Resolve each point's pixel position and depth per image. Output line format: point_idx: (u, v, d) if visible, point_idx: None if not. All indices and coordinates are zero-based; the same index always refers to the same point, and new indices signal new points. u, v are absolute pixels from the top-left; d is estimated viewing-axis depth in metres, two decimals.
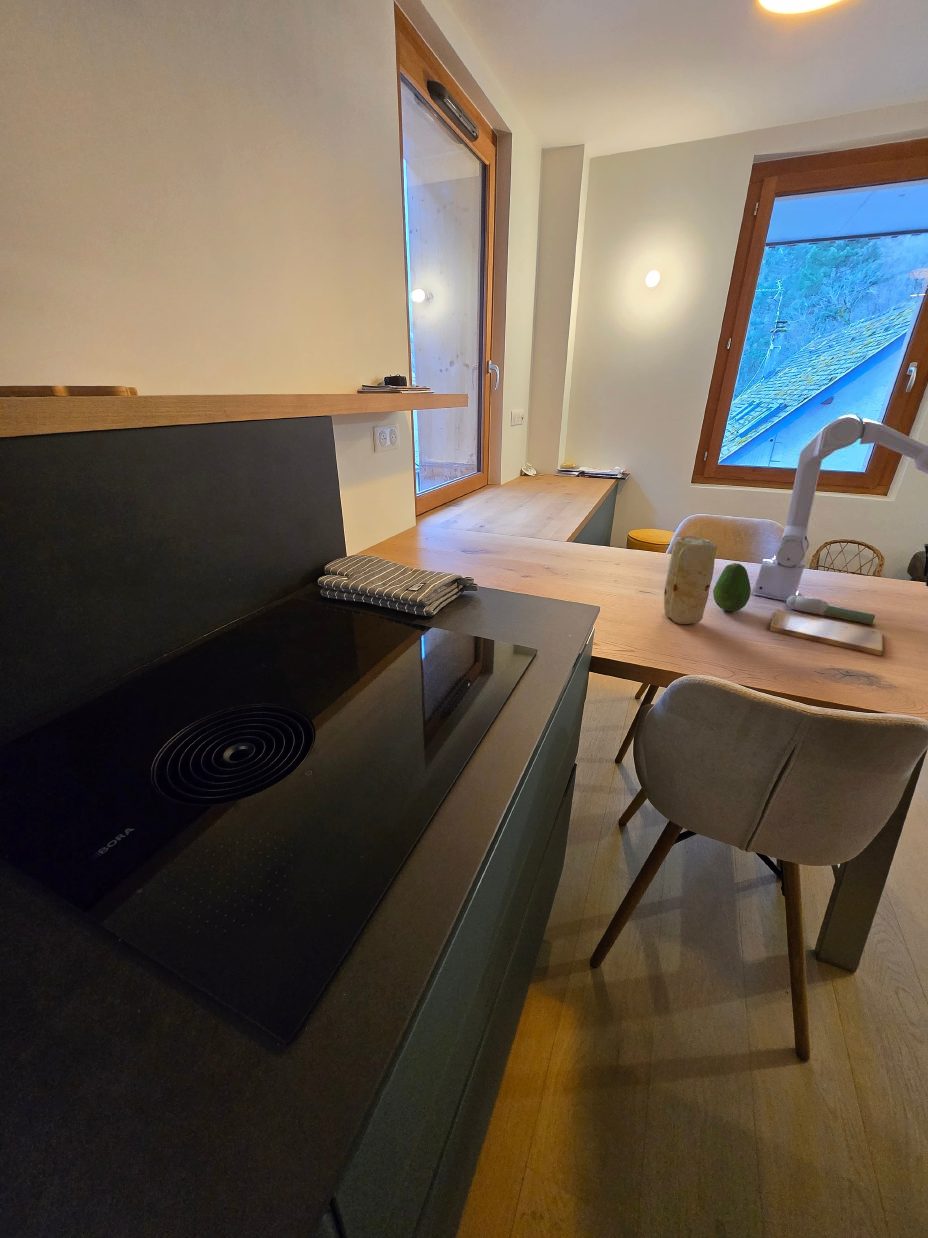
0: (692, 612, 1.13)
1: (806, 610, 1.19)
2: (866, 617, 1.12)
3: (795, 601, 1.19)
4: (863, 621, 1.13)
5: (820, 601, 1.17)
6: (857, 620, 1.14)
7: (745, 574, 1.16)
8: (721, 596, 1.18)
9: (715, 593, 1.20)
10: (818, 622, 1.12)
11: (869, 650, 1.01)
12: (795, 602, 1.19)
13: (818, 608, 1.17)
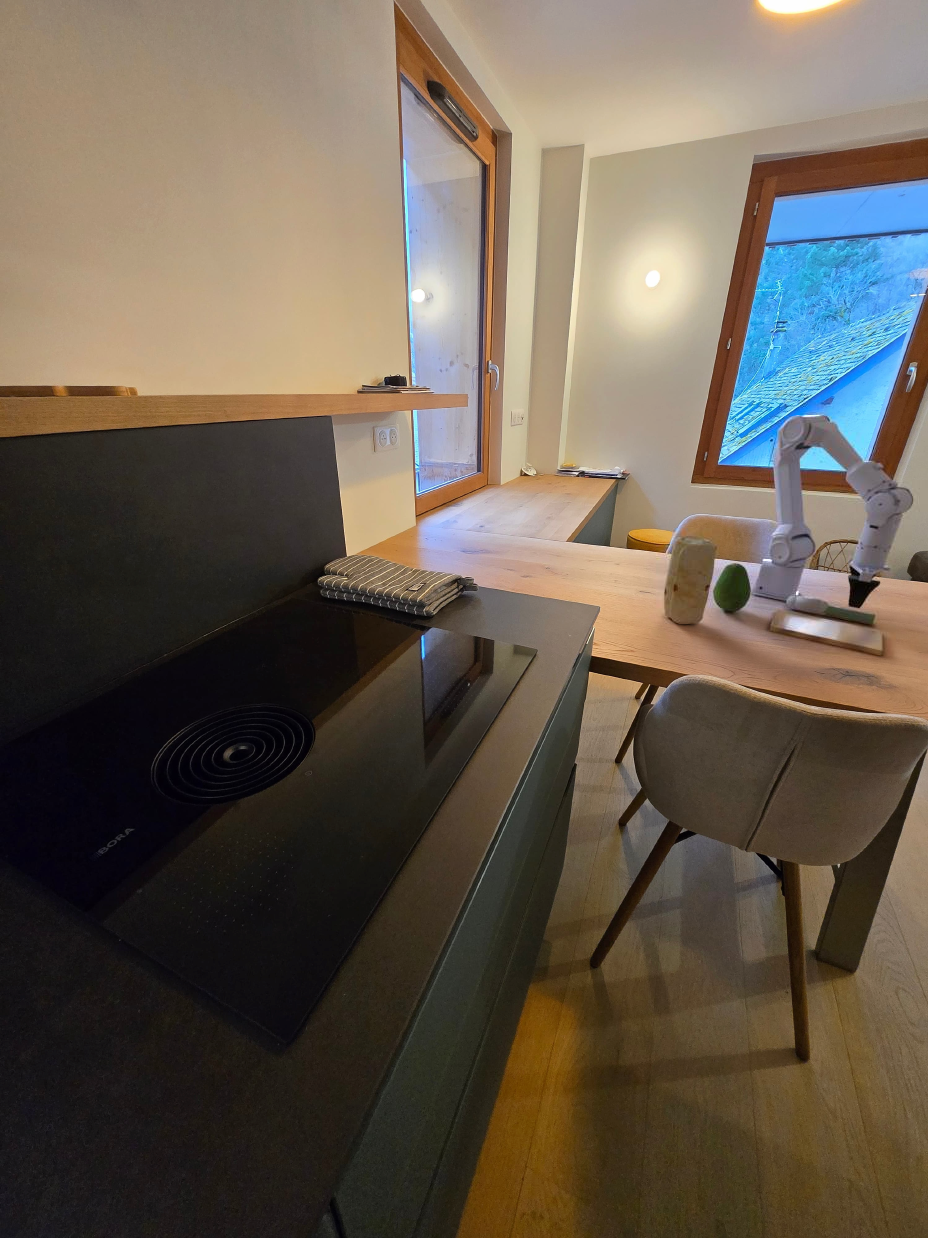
0: (692, 612, 1.13)
1: (806, 610, 1.19)
2: (866, 617, 1.12)
3: (795, 601, 1.19)
4: (863, 621, 1.13)
5: (820, 601, 1.17)
6: (857, 620, 1.14)
7: (745, 574, 1.16)
8: (721, 596, 1.18)
9: (715, 593, 1.20)
10: (818, 622, 1.12)
11: (869, 650, 1.01)
12: (795, 602, 1.19)
13: (818, 608, 1.17)
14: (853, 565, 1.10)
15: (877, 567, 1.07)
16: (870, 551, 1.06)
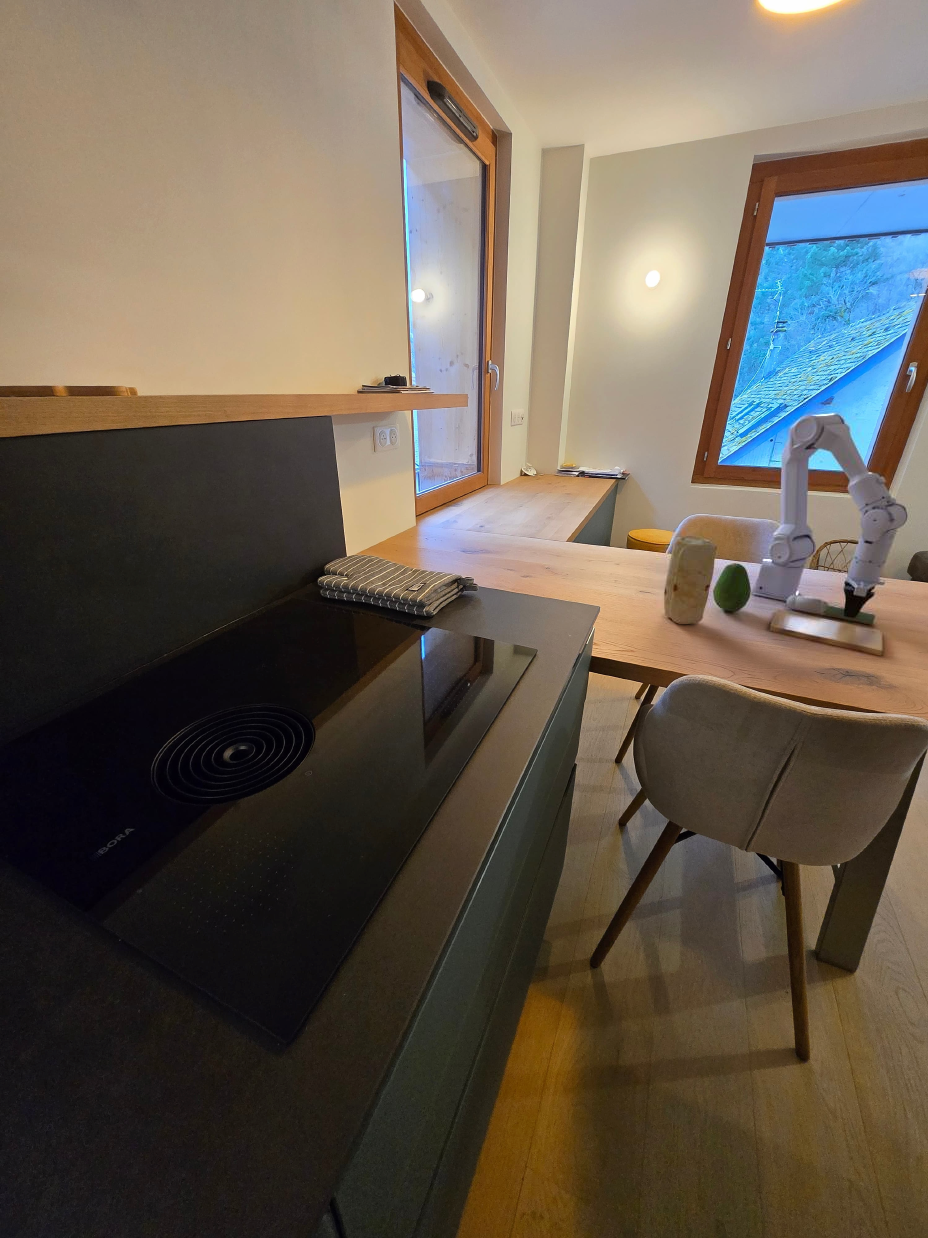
0: (692, 612, 1.13)
1: (806, 610, 1.19)
2: (866, 617, 1.12)
3: (795, 601, 1.19)
4: (863, 621, 1.13)
5: (820, 601, 1.17)
6: (857, 620, 1.14)
7: (745, 574, 1.16)
8: (721, 596, 1.18)
9: (715, 593, 1.20)
10: (818, 622, 1.12)
11: (869, 650, 1.01)
12: (795, 602, 1.19)
13: (818, 608, 1.17)
14: (848, 579, 1.11)
15: (872, 581, 1.08)
16: (864, 566, 1.08)
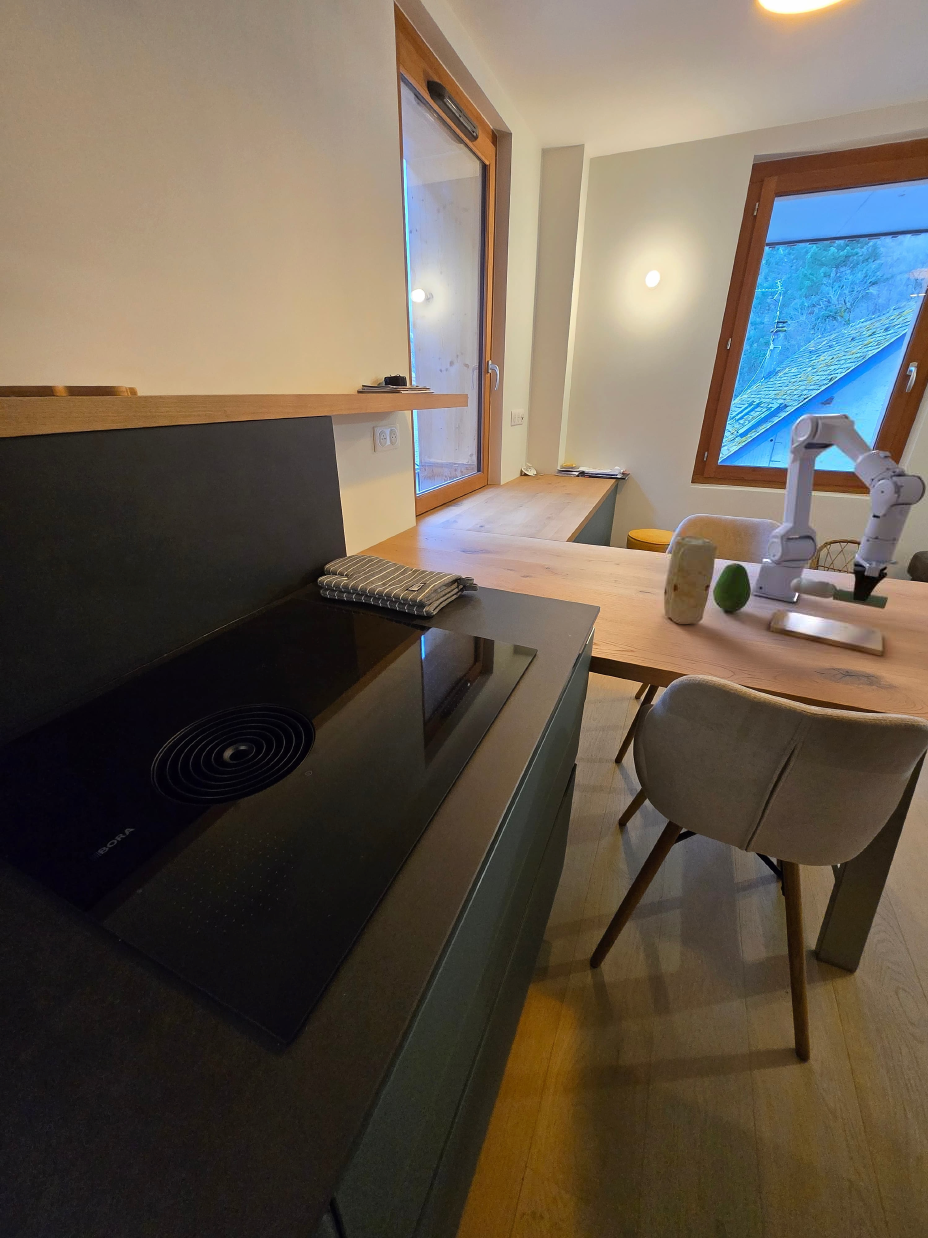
0: (692, 612, 1.13)
1: (812, 594, 1.10)
2: (878, 600, 1.04)
3: (801, 584, 1.10)
4: (874, 605, 1.04)
5: (827, 584, 1.08)
6: (868, 604, 1.05)
7: (745, 574, 1.16)
8: (721, 596, 1.18)
9: (715, 593, 1.20)
10: (818, 622, 1.12)
11: (869, 650, 1.01)
12: (800, 585, 1.11)
13: (825, 592, 1.08)
14: (858, 559, 1.02)
15: (884, 561, 1.00)
16: (876, 544, 0.99)
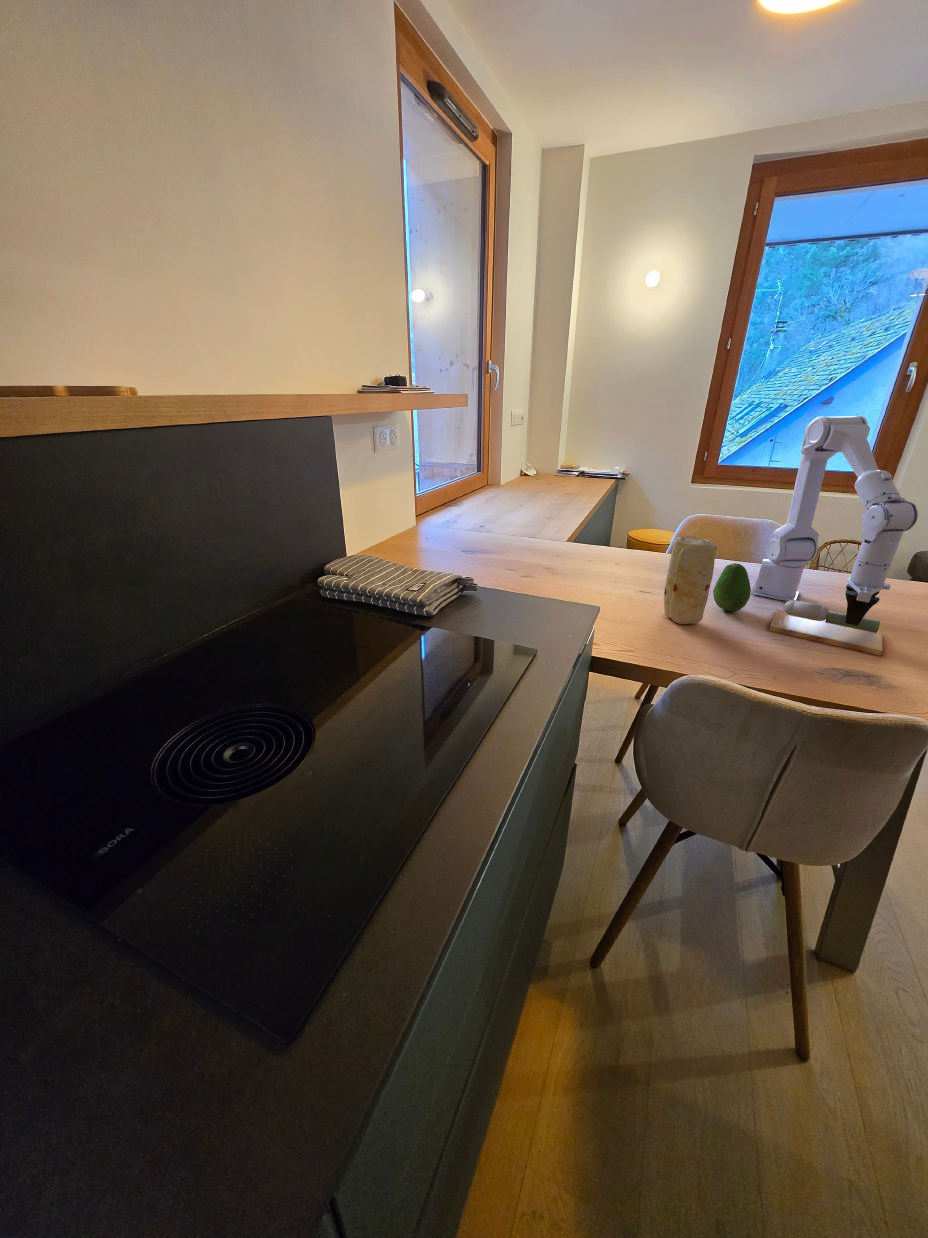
0: (692, 612, 1.13)
1: (805, 616, 1.10)
2: (870, 624, 1.03)
3: (793, 606, 1.10)
4: (867, 629, 1.04)
5: (820, 607, 1.08)
6: (860, 628, 1.05)
7: (745, 574, 1.16)
8: (721, 596, 1.18)
9: (715, 593, 1.20)
10: (818, 622, 1.12)
11: (869, 650, 1.01)
12: (793, 608, 1.10)
13: (818, 615, 1.08)
14: (850, 583, 1.02)
15: (876, 586, 0.99)
16: (868, 569, 0.99)
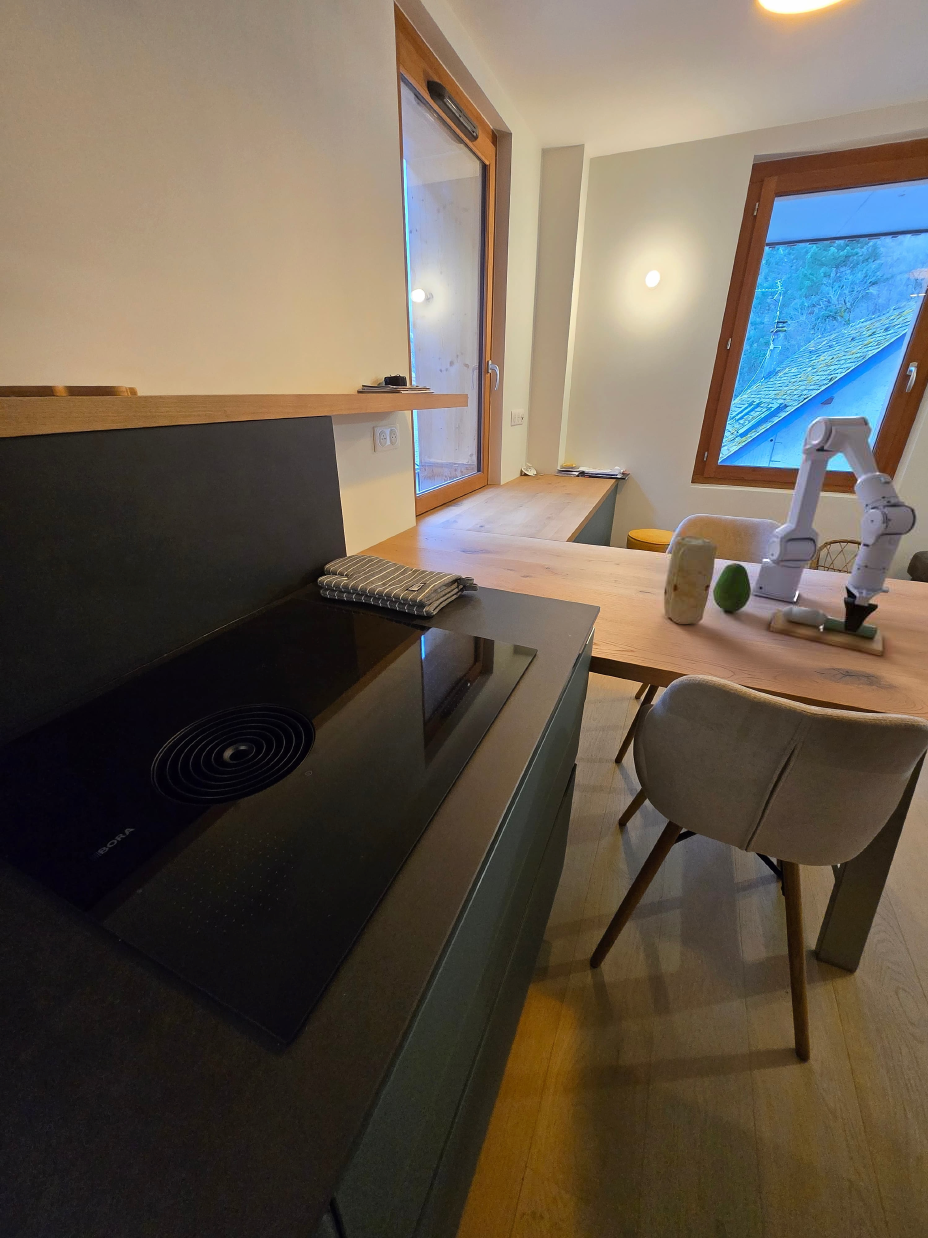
0: (692, 612, 1.13)
1: (803, 622, 1.10)
2: (868, 630, 1.04)
3: (792, 612, 1.11)
4: (865, 635, 1.05)
5: (818, 613, 1.09)
6: (858, 634, 1.05)
7: (745, 574, 1.16)
8: (721, 596, 1.18)
9: (715, 593, 1.20)
10: None
11: (869, 650, 1.01)
12: (791, 613, 1.11)
13: (816, 620, 1.09)
14: (849, 586, 1.02)
15: (875, 589, 1.00)
16: (867, 573, 0.99)
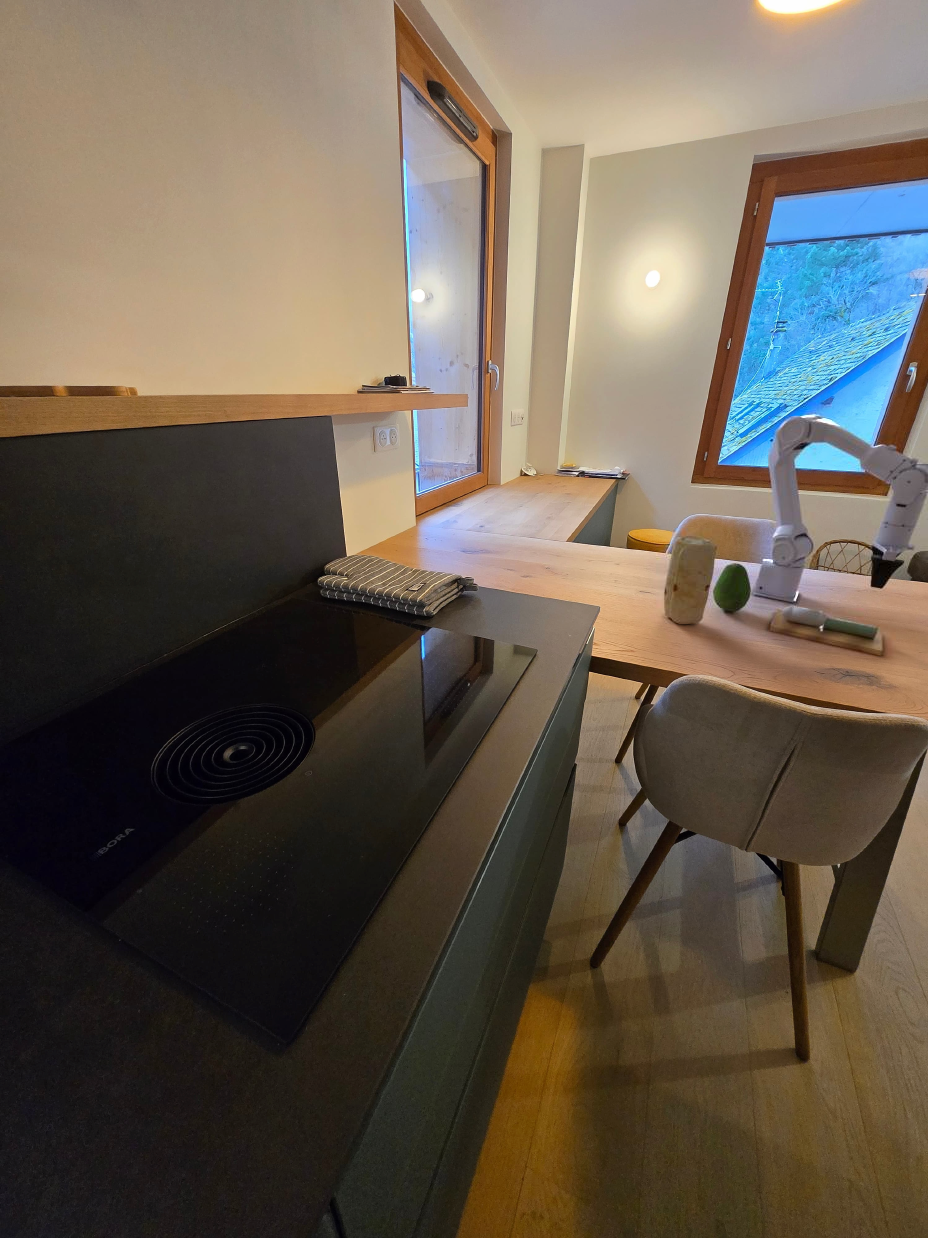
0: (692, 612, 1.13)
1: (803, 622, 1.10)
2: (867, 631, 1.04)
3: (791, 612, 1.11)
4: (864, 635, 1.05)
5: (818, 613, 1.09)
6: (858, 634, 1.05)
7: (745, 574, 1.16)
8: (721, 596, 1.18)
9: (715, 593, 1.20)
10: None
11: (869, 650, 1.01)
12: (791, 614, 1.11)
13: (816, 621, 1.08)
14: (876, 544, 1.08)
15: (901, 546, 1.05)
16: (894, 530, 1.05)
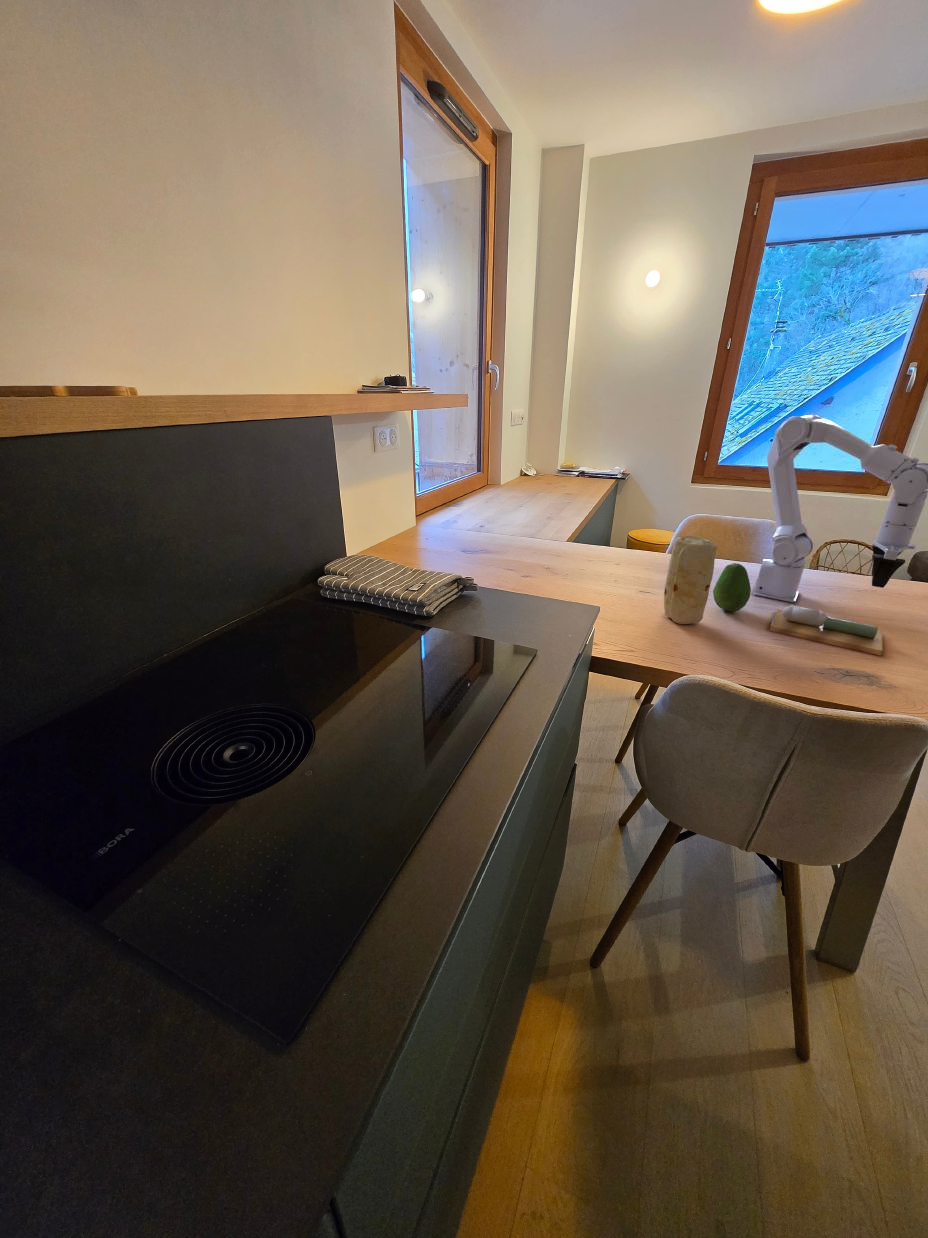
0: (692, 612, 1.13)
1: (803, 622, 1.10)
2: (868, 630, 1.04)
3: (792, 611, 1.11)
4: (865, 634, 1.05)
5: (818, 612, 1.09)
6: (858, 634, 1.05)
7: (745, 574, 1.16)
8: (721, 596, 1.18)
9: (715, 593, 1.20)
10: None
11: (869, 650, 1.01)
12: (791, 613, 1.11)
13: (816, 620, 1.09)
14: (877, 544, 1.08)
15: (902, 545, 1.05)
16: (895, 529, 1.05)
